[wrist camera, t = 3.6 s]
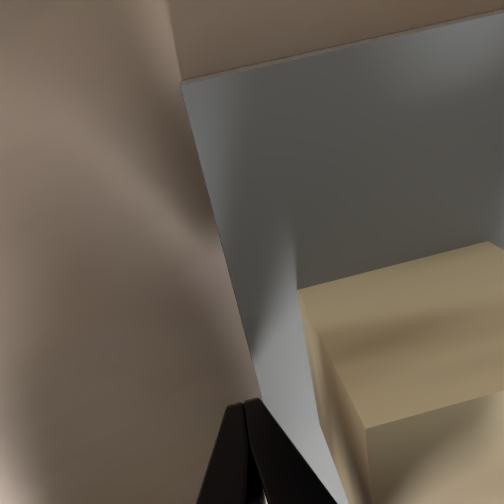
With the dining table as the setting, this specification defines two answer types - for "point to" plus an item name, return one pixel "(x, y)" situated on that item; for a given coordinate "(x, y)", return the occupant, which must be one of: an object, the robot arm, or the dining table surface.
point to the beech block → (413, 378)
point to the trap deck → (347, 181)
